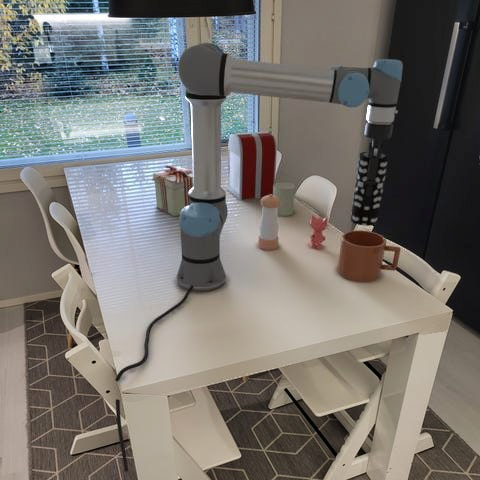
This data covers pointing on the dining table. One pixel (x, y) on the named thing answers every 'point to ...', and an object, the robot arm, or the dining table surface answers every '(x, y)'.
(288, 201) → the can
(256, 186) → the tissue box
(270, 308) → the dining table surface
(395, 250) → the terracotta coffee mug
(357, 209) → the white-spotted black cylinder
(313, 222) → the cat figurine
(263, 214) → the pepper shaker
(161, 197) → the gift box
